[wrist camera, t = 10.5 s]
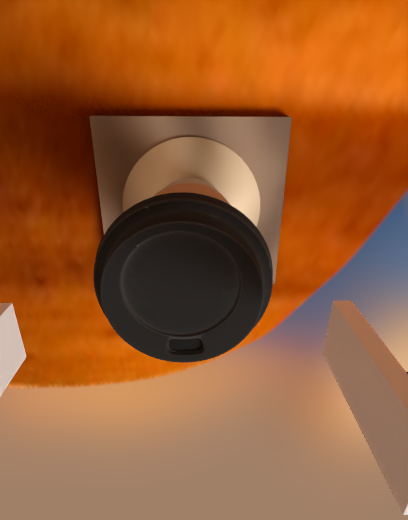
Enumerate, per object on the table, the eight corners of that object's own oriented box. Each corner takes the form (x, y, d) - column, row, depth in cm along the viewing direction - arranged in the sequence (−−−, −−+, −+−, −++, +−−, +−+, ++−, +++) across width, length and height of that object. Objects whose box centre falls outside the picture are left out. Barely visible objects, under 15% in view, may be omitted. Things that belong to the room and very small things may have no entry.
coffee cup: (172, 275, 33) (153, 398, 19) (114, 189, 30) (41, 266, 16) (262, 228, 31) (310, 329, 18) (212, 131, 28) (222, 162, 14)
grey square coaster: (112, 277, 35) (109, 284, 33) (93, 115, 29) (88, 116, 27) (272, 277, 35) (275, 284, 34) (288, 116, 29) (292, 117, 27)
